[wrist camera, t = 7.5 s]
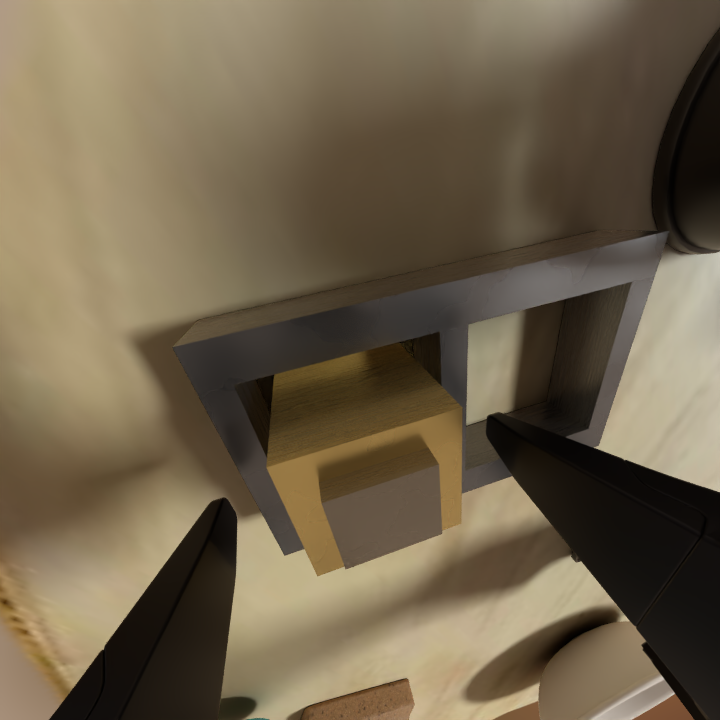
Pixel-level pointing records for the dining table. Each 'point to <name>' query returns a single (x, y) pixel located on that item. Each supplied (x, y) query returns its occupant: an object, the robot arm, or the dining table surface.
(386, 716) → the candle holder
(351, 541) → the gold square block
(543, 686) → the soup bowl
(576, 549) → the robot arm
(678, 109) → the french press
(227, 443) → the grey flat rectangular tray
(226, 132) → the dining table surface
